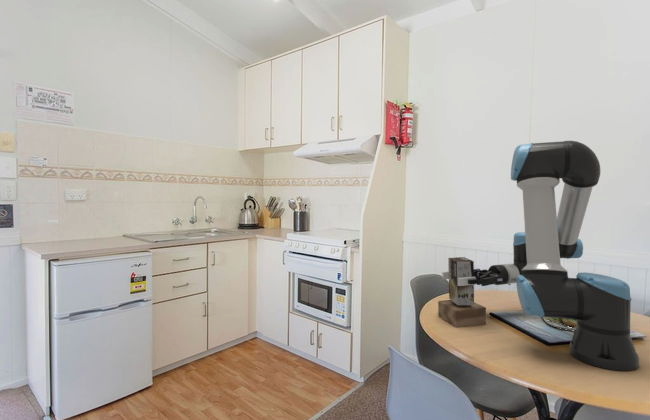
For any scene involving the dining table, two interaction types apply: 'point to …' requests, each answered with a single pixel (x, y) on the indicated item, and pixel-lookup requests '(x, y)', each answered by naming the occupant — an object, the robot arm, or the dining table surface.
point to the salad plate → (567, 322)
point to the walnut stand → (461, 313)
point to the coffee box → (460, 269)
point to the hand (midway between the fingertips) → (450, 278)
